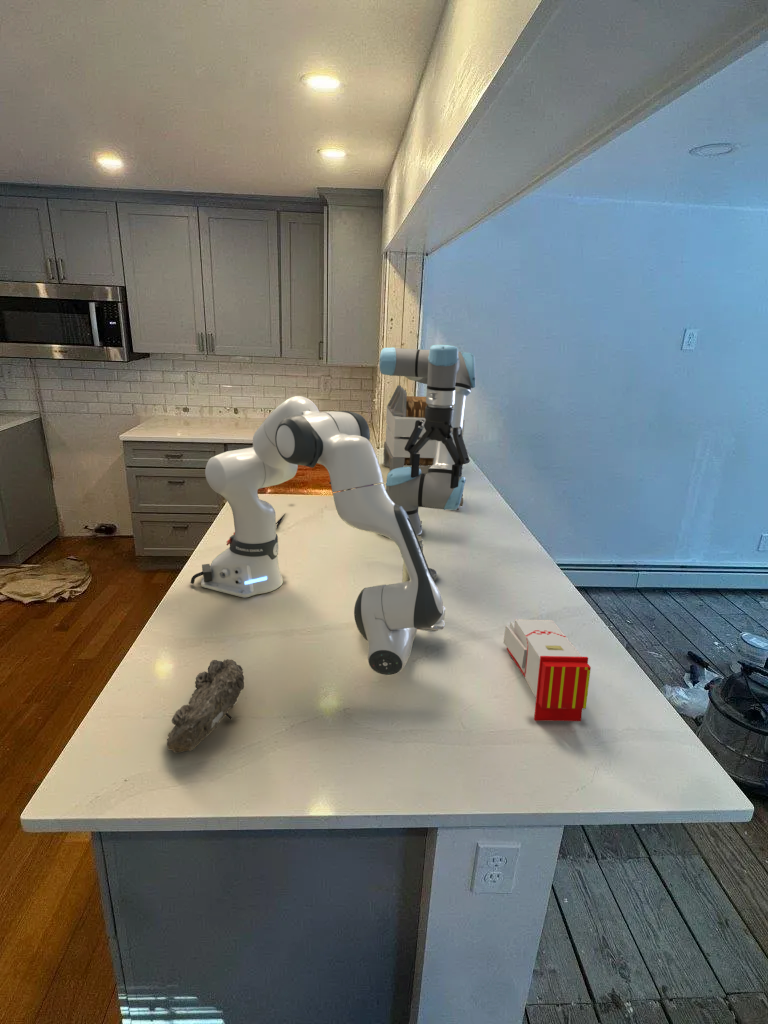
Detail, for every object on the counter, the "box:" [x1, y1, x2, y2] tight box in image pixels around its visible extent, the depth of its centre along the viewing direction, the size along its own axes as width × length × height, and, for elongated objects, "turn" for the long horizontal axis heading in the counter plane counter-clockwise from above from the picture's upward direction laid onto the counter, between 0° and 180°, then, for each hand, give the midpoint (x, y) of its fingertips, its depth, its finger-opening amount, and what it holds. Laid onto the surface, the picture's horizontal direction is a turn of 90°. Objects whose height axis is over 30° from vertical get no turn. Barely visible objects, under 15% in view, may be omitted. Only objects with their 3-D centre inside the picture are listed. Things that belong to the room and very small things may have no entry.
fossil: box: [166, 658, 245, 754], centre depth 106 cm, size 22×10×15 cm
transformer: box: [383, 384, 465, 472], centre depth 268 cm, size 34×33×41 cm
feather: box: [276, 513, 286, 531], centre depth 210 cm, size 2×28×2 cm
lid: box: [429, 567, 438, 582], centre depth 167 cm, size 6×6×2 cm
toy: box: [503, 618, 592, 722], centre depth 122 cm, size 12×13×30 cm
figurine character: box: [456, 493, 464, 511], centre depth 230 cm, size 7×8×15 cm
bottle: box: [401, 536, 425, 583], centre depth 150 cm, size 5×5×19 cm
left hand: (407, 597), depth 143 cm, fingers open, 8 cm apart
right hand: (433, 482), depth 158 cm, fingers open, 13 cm apart
